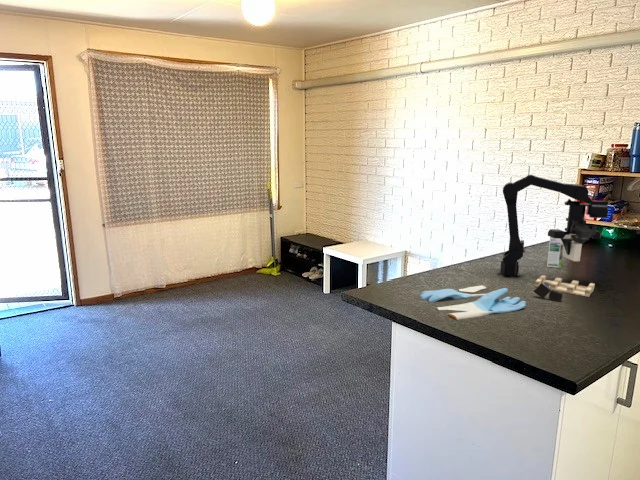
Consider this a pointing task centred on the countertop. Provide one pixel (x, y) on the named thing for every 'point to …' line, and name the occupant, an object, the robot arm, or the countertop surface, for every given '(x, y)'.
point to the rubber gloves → (475, 302)
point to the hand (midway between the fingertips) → (571, 254)
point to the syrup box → (555, 252)
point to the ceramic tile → (573, 251)
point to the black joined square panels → (544, 290)
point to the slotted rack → (566, 286)
